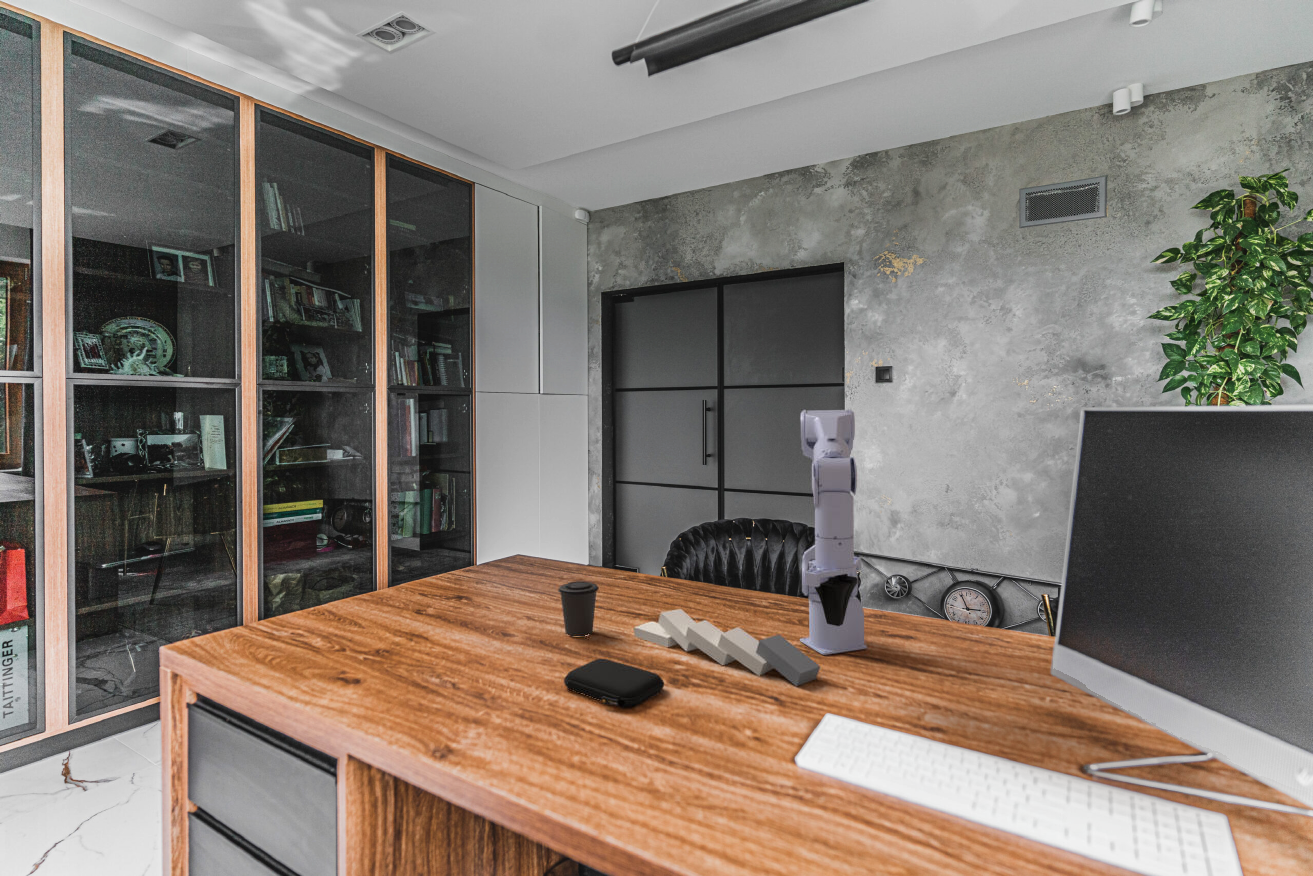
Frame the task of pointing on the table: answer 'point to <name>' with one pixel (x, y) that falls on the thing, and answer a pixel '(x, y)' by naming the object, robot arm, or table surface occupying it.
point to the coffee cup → (578, 607)
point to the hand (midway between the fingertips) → (834, 624)
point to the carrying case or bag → (614, 683)
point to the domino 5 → (788, 660)
